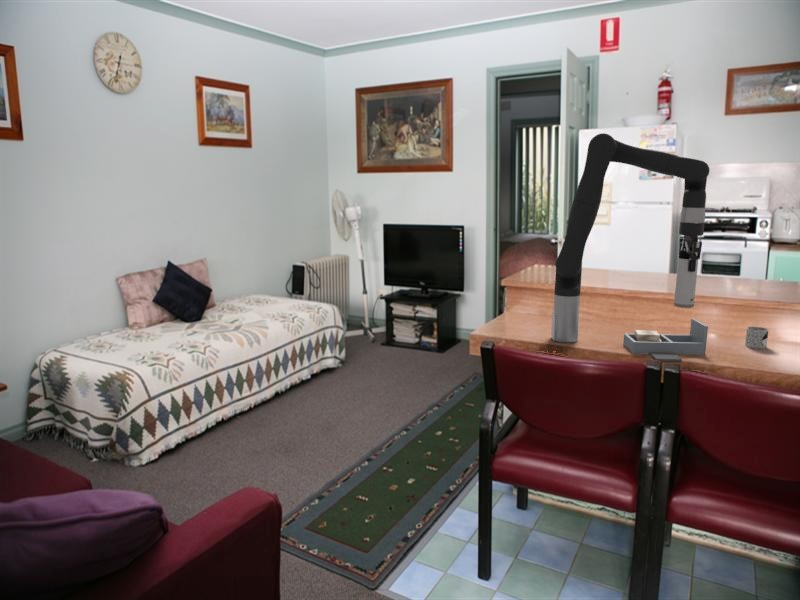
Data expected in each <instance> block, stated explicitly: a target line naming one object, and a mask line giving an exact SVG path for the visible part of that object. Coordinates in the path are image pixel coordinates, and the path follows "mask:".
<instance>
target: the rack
mask: <svg viewBox="0 0 800 600" xmlns="http://www.w3.org/2000/svg"><path fill="white" fill-rule="evenodd" d="M689 329H690V331H689V334H668V333H667V334H666V333H665V334H664V333H663V334H660V333H658V334H659V335H660V339H661V341H662V342H640V341H635V340H636V337H635V333H623V343H622V344H623V345H624V347H626V349H628V350H629V351H630V352H631V353H632V354H644V355H645V354H646V355H647V354H648V355H649V352H663V353H674V354H675V355H687V356H688V355H690V356H691V355H692V356H693V355H697V356H698V355H699V356H705V355H706V352H707V351H706V350H707V342H708V333H709V331H708V330H709V326H708V325H706V324H705V323H704V322H701V321H699V320H697V319H696V318H691V319H690V328H689Z"/></svg>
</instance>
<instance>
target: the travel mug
mask: <svg viewBox="0 0 800 600" xmlns="http://www.w3.org/2000/svg"><path fill="white" fill-rule="evenodd" d="M697 255H698V254H697ZM694 256H695V254H694ZM677 259H678V260H677V267H676V276H675V277H676V279H675V289H674V299H673V300H674V302H673V305H674V307H677V308H683V309H684V308H685V309H691V308H694V307H695V299H696V298H695V297H696V285H697V276H698V268H699V267H698V265H699V259H698V260H697V261H696V269H695V272H689V271H688V263H689V254H687V251H682V250H680V251H679V250H678V257H677Z"/></svg>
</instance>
